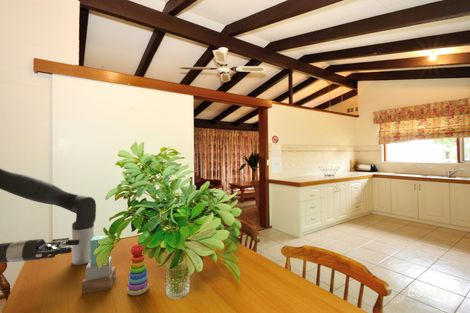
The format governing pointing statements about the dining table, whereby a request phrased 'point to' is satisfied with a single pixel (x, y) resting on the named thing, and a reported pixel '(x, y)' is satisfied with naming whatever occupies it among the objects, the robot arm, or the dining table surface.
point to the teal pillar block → (94, 247)
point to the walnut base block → (99, 282)
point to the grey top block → (98, 270)
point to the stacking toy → (137, 272)
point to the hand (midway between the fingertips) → (75, 245)
